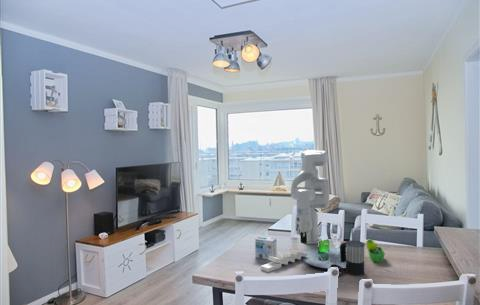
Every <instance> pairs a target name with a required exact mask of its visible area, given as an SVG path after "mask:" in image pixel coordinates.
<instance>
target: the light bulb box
mask: <svg viewBox="0 0 480 305" xmlns="http://www.w3.org/2000/svg"><path fill="white" fill-rule="evenodd" d="M254 248H255V252H254V253H255V254H254V255H255V258H259V259H264V260H268V259H269V256H272V257H276V254H277V237H269V236H263V235H260V236H258V237H257V238H255V247H254ZM276 258H277V257H276Z"/></svg>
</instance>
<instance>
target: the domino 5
mask: <svg viewBox="0 0 480 305" xmlns="http://www.w3.org/2000/svg"><path fill="white" fill-rule="evenodd" d="M289 253H292V254H295V255H299V256H301V257H304V258H307V257H308V253H307V252H303V251H300V250H296V249H295V250H294V249H292V248H291V249H289ZM306 256H307V257H306Z"/></svg>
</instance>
